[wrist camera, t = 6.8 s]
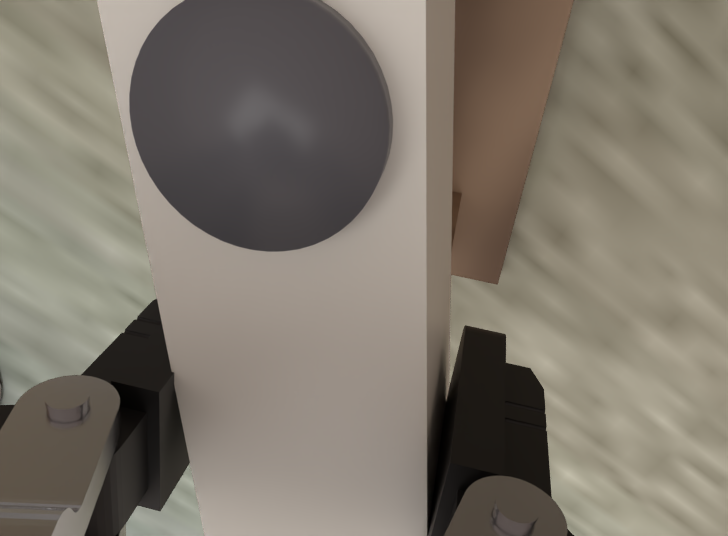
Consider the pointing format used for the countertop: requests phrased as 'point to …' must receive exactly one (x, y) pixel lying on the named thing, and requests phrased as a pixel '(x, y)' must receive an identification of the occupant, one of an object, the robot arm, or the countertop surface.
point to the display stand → (497, 120)
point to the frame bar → (297, 248)
